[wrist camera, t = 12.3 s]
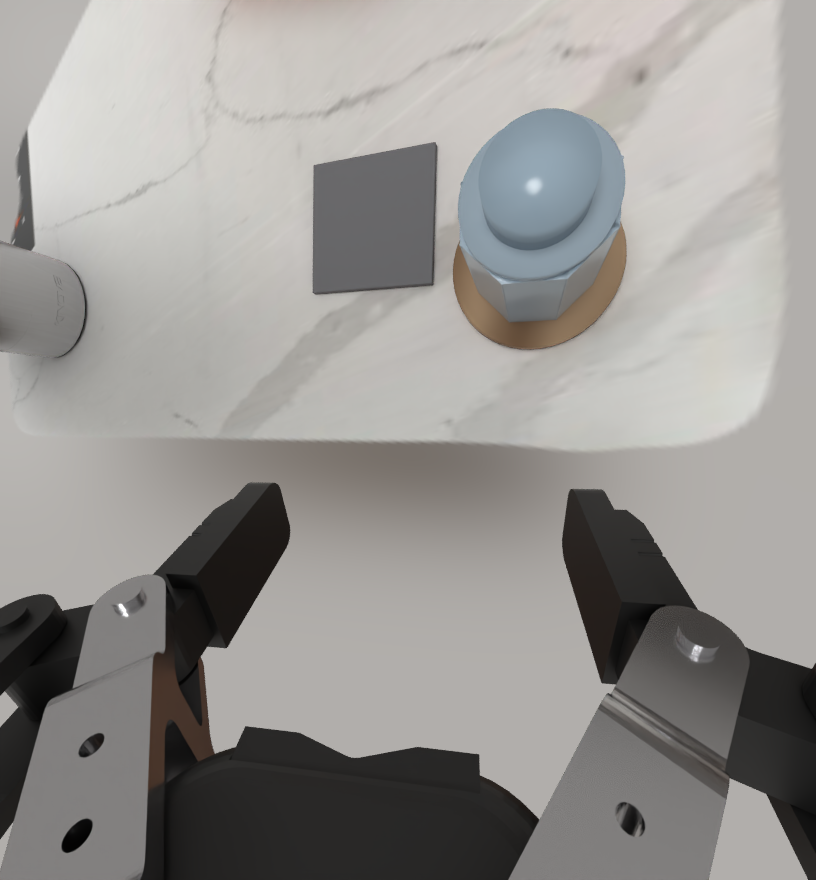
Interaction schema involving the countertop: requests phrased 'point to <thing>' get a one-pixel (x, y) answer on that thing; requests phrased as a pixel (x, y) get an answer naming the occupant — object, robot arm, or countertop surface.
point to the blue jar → (540, 212)
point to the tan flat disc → (547, 330)
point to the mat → (375, 221)
